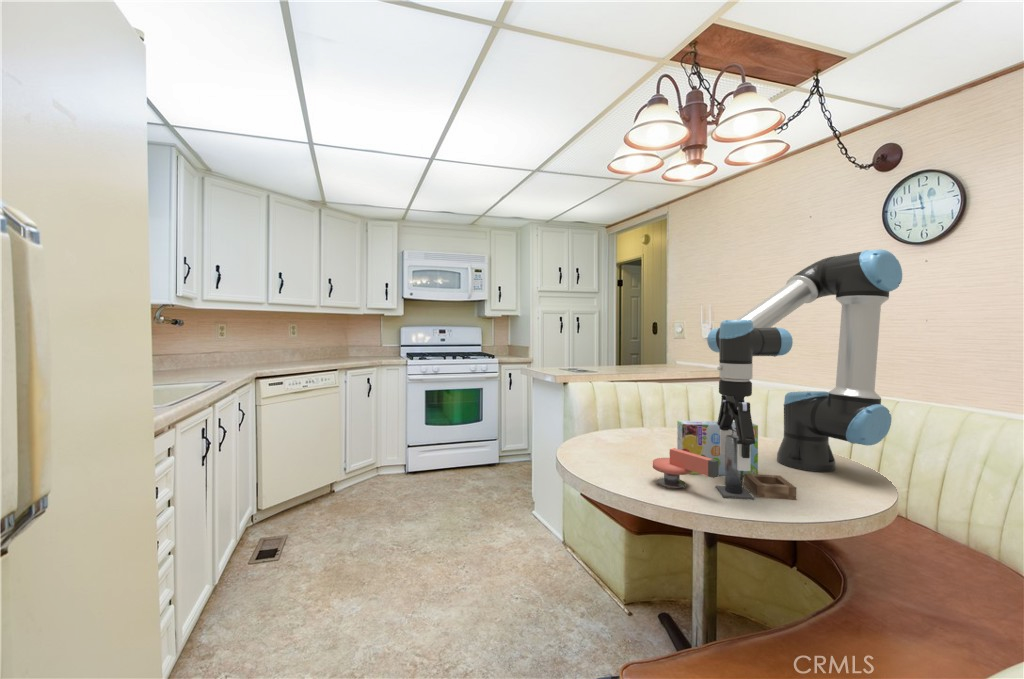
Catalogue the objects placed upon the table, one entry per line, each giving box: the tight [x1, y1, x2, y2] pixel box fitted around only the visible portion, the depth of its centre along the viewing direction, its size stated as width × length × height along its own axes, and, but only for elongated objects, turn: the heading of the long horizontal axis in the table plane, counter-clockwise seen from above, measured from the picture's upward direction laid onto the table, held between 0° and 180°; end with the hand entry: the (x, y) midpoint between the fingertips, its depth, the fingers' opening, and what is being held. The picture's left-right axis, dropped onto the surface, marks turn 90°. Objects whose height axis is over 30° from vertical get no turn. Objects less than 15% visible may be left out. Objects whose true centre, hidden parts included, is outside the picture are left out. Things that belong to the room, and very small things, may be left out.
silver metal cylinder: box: [724, 435, 744, 494], centre depth 109 cm, size 4×4×14 cm
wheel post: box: [657, 473, 686, 490], centre depth 115 cm, size 7×7×4 cm
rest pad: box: [714, 485, 755, 501], centre depth 109 cm, size 7×7×1 cm
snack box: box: [676, 420, 759, 477], centre depth 125 cm, size 21×6×15 cm, turn 84°
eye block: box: [743, 473, 797, 501], centre depth 110 cm, size 9×9×3 cm
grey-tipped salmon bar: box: [652, 447, 720, 479], centre depth 112 cm, size 18×10×6 cm, turn 31°
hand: (734, 461), depth 109 cm, fingers open, 13 cm apart
